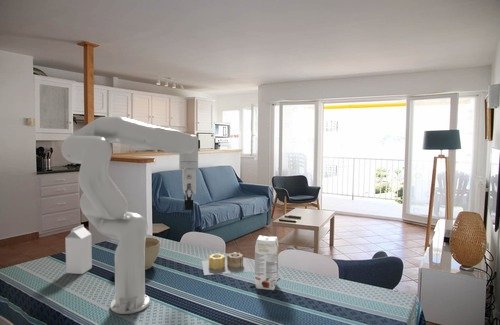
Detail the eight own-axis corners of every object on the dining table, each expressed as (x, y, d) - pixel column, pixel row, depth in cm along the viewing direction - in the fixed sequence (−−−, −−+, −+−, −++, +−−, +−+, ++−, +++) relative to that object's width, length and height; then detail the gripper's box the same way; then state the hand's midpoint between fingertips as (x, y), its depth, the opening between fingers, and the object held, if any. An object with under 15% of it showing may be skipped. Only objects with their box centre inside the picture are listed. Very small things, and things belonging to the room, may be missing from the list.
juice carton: (276, 291, 126) (277, 241, 124) (253, 289, 127) (254, 240, 126) (278, 283, 133) (279, 235, 132) (256, 281, 135) (257, 234, 133)
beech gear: (245, 266, 146) (246, 256, 146) (232, 269, 142) (232, 259, 142) (237, 261, 151) (237, 251, 151) (224, 264, 148) (224, 254, 147)
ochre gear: (225, 269, 142) (225, 258, 142) (209, 270, 141) (209, 259, 141) (223, 263, 149) (223, 253, 149) (208, 264, 148) (208, 254, 147)
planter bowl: (154, 274, 139) (154, 249, 138) (115, 273, 140) (114, 248, 139) (164, 260, 155) (164, 237, 154) (129, 259, 156) (129, 236, 155)
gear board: (252, 275, 140) (252, 258, 140) (204, 278, 136) (204, 261, 136) (245, 261, 156) (245, 246, 155) (201, 263, 152) (201, 248, 151)
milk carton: (92, 267, 145) (91, 224, 144) (82, 274, 138) (81, 229, 137) (76, 267, 146) (75, 223, 145) (66, 273, 139) (64, 228, 138)
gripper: (199, 167, 129) (199, 211, 130) (197, 163, 145) (196, 202, 147) (179, 167, 127) (179, 212, 128) (179, 163, 144) (179, 203, 145)
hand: (188, 207), depth 138 cm, fingers open, 9 cm apart
